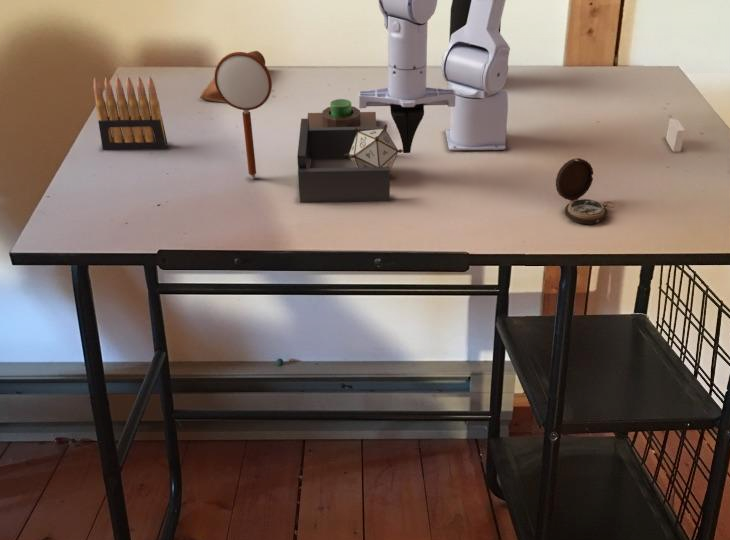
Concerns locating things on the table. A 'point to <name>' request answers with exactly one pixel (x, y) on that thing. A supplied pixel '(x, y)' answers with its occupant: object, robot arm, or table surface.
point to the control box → (342, 119)
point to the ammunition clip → (129, 117)
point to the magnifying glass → (244, 91)
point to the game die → (373, 149)
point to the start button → (341, 108)
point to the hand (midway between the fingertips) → (406, 150)
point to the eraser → (675, 135)
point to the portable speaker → (461, 17)
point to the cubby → (337, 180)
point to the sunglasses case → (210, 90)
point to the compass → (579, 192)
